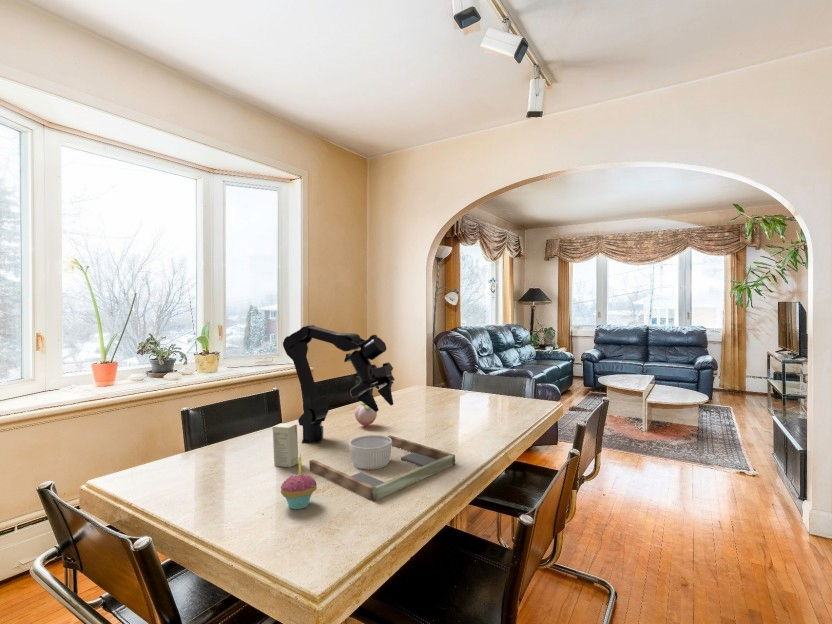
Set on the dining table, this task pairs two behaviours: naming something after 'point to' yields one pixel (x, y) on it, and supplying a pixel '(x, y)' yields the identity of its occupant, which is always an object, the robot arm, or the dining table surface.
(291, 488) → the cupcake
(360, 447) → the ramekin
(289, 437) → the skincare box
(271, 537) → the dining table surface
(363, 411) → the decorative fruit
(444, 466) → the wooden u-shaped frame
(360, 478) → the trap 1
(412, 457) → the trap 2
